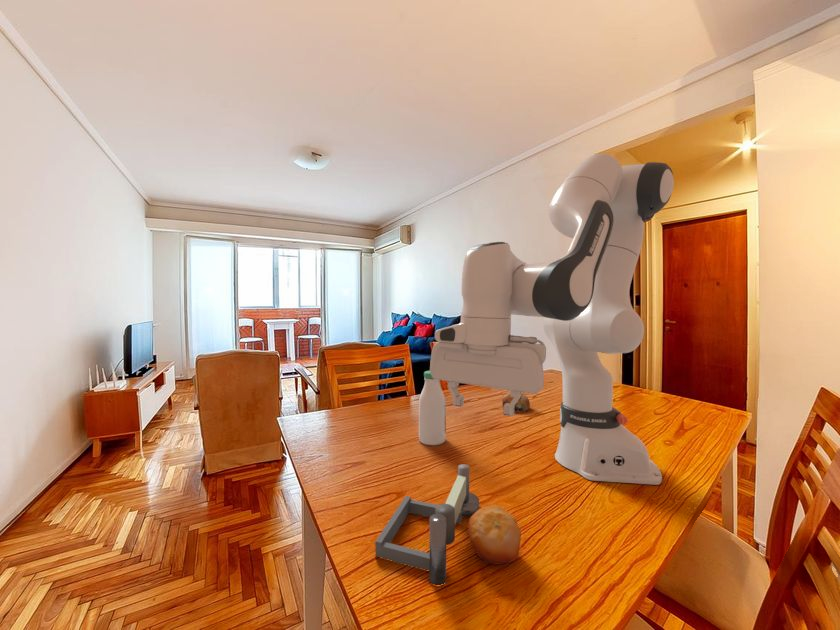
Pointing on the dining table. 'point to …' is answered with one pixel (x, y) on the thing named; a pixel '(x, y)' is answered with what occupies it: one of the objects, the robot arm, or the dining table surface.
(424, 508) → the gray frame
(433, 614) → the dining table surface
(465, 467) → the gate
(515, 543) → the fruit
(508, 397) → the bread roll
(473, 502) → the base
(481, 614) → the dining table surface
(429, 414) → the milk bottle
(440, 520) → the post
